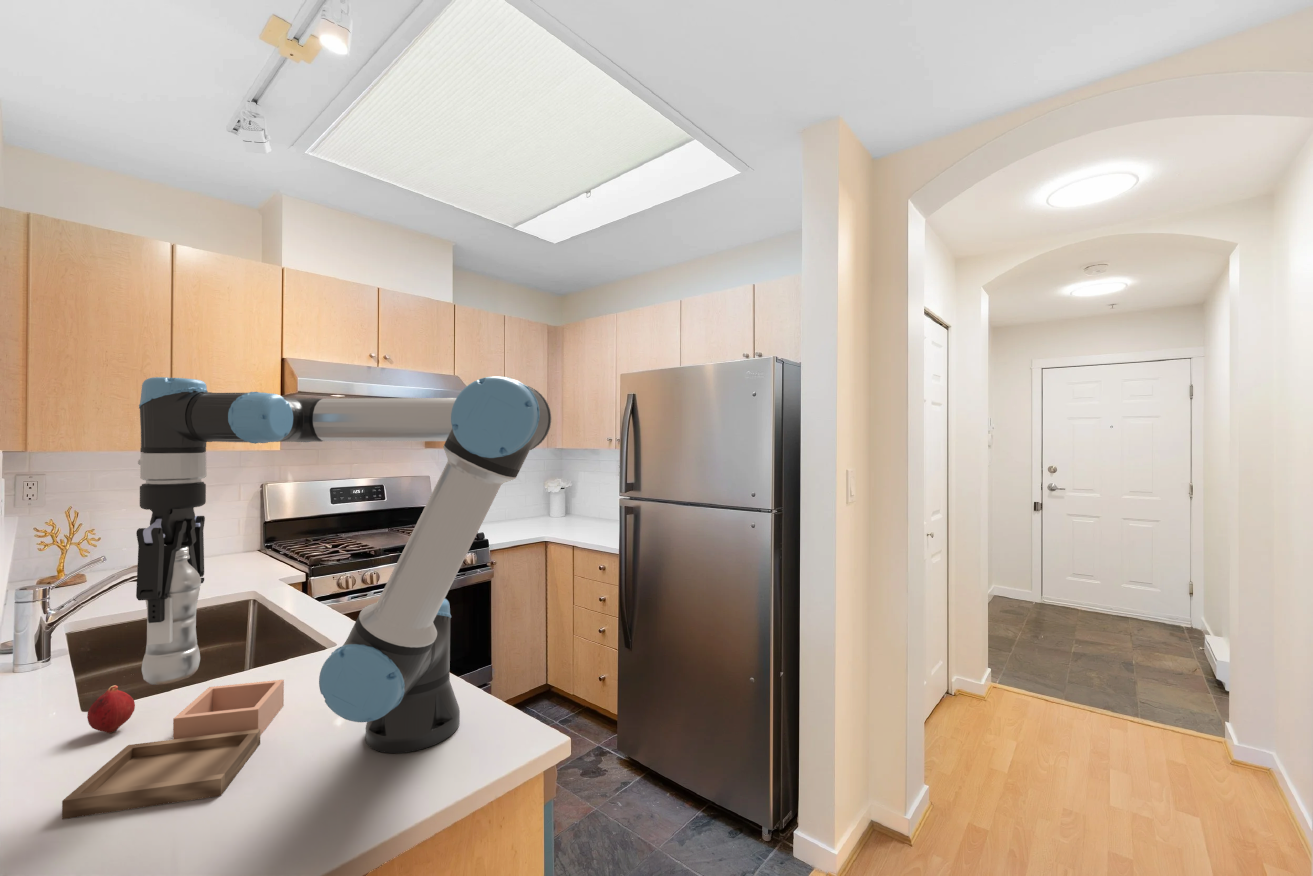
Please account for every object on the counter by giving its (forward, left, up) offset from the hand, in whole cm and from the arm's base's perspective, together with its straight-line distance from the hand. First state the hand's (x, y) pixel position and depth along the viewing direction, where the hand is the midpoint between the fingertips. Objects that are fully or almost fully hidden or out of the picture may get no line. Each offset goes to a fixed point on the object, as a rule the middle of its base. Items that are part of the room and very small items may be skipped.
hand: (172, 634), depth 84 cm
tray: (0, 0, -21) cm, 21 cm away
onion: (+17, -18, -22) cm, 33 cm away
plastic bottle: (0, 0, -7) cm, 7 cm away
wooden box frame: (-2, -15, -21) cm, 26 cm away
